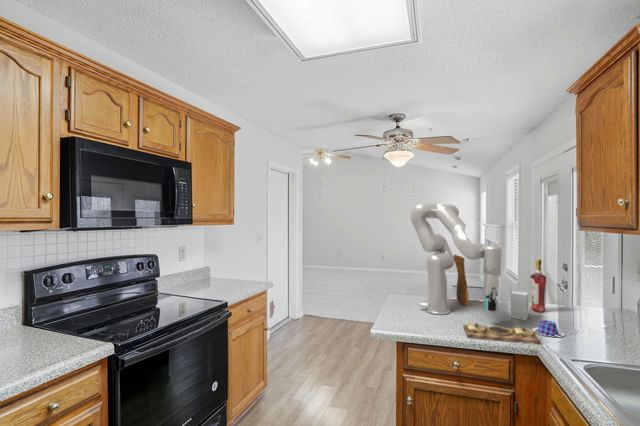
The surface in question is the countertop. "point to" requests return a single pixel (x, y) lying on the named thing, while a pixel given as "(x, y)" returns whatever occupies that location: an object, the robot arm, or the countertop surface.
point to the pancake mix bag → (461, 281)
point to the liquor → (538, 289)
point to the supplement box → (519, 305)
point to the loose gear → (487, 304)
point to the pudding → (548, 328)
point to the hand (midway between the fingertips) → (490, 308)
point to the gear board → (501, 333)
